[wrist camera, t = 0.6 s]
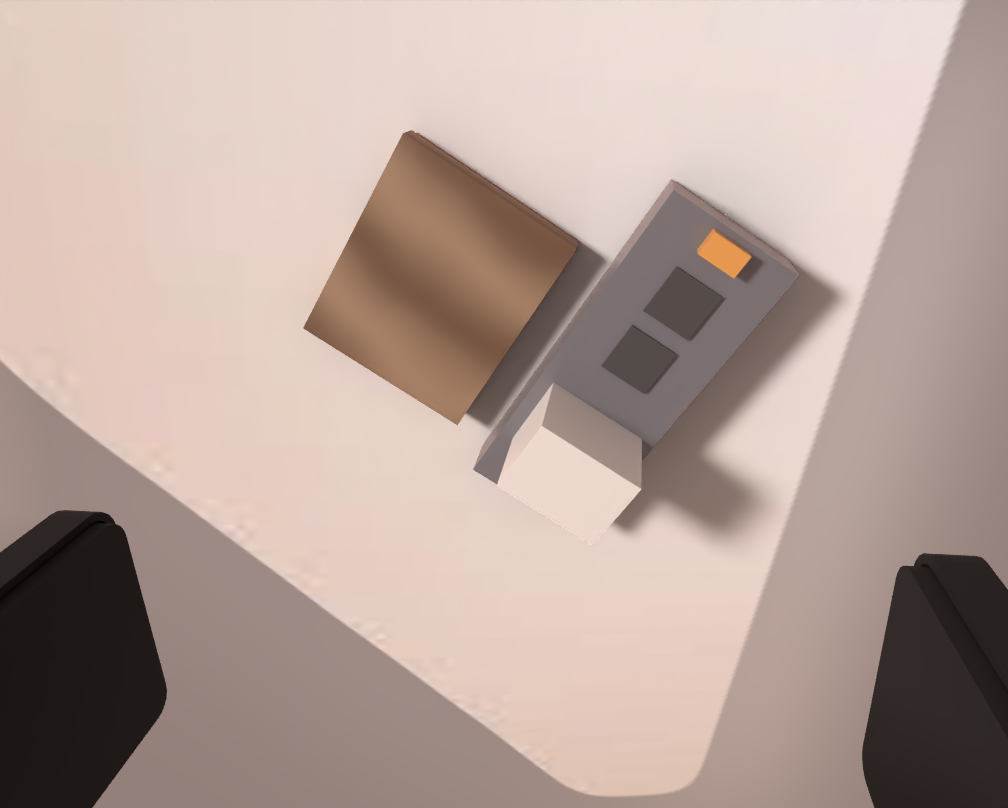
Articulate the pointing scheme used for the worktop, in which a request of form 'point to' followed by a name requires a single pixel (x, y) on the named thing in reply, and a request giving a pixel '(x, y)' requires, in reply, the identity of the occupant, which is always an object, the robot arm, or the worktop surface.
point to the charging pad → (437, 278)
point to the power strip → (656, 322)
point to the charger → (573, 465)
